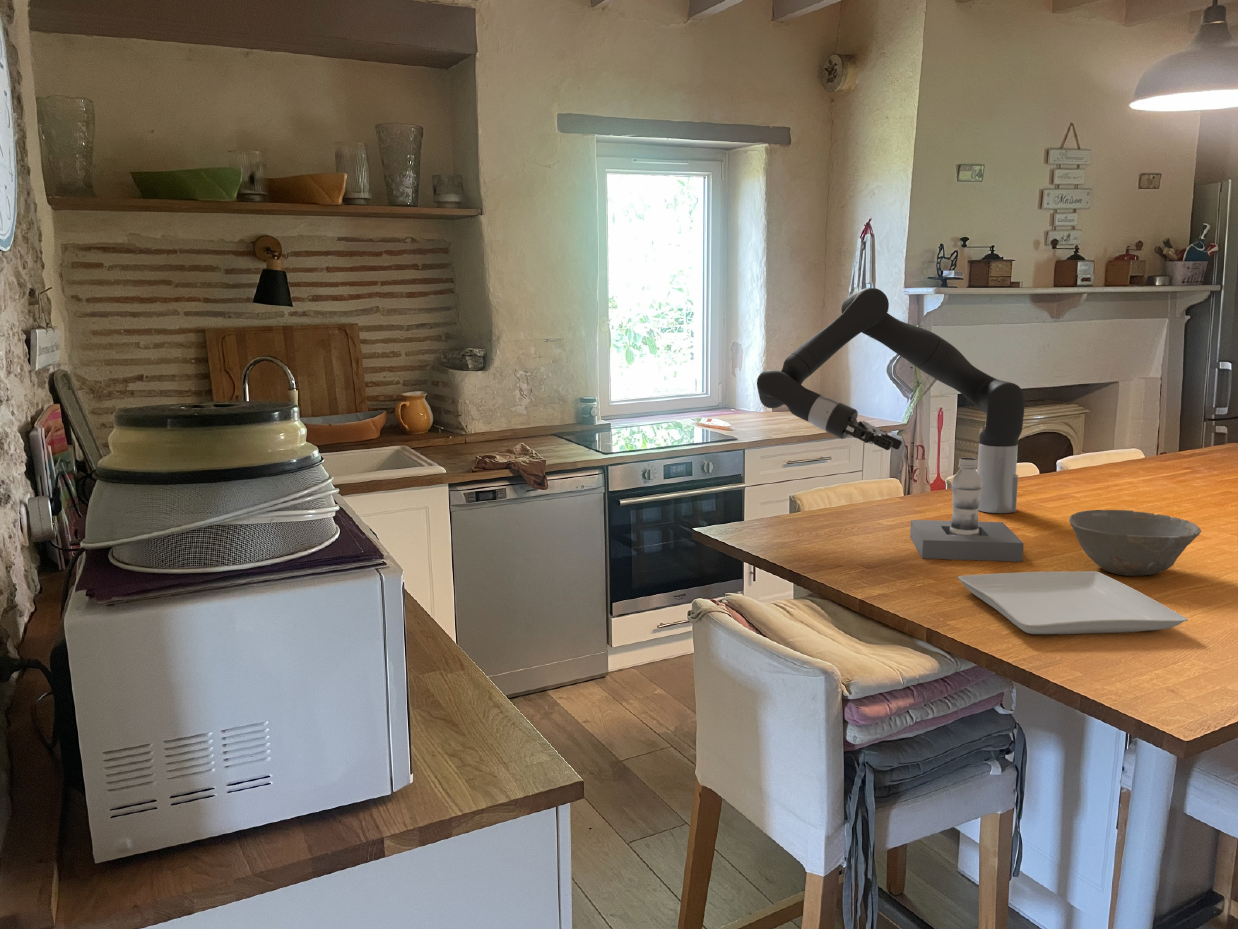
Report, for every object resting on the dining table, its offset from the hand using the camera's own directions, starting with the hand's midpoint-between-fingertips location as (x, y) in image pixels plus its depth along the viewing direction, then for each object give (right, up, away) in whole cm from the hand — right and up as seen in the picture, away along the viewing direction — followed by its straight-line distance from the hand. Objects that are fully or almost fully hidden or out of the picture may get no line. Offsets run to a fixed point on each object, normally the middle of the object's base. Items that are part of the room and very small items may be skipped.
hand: (895, 446), depth 206 cm
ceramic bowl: (+39, -26, -24) cm, 53 cm away
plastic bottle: (+13, -23, -7) cm, 27 cm away
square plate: (+15, -31, -47) cm, 58 cm away
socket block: (+13, -23, -7) cm, 27 cm away
